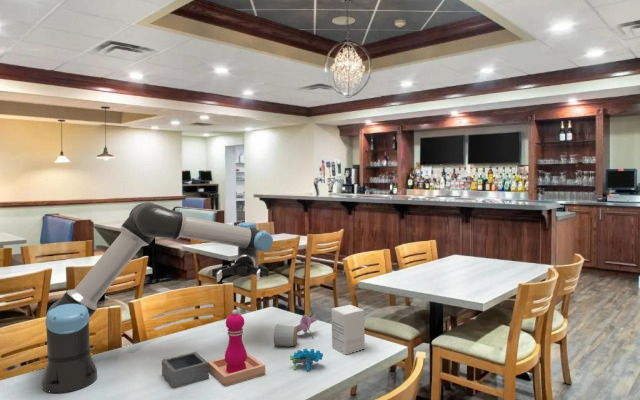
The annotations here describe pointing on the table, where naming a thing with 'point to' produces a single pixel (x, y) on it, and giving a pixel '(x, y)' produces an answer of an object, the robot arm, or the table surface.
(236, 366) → the pepper mill
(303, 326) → the lily
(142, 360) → the table surface
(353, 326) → the supplement box
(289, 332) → the ceramic mug
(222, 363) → the terracotta tray
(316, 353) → the blue bumpy piece
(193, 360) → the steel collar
